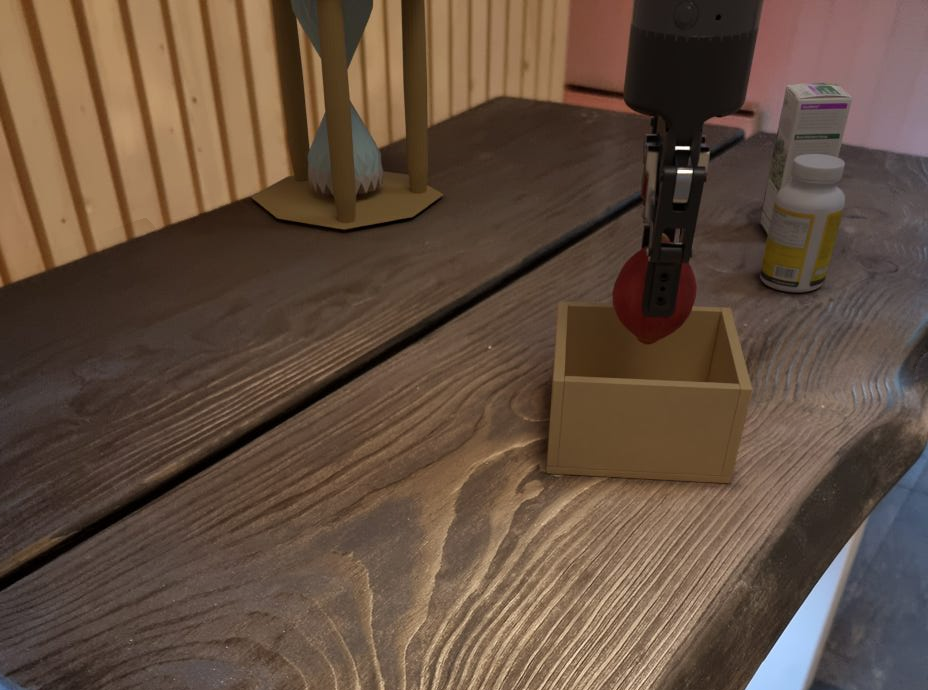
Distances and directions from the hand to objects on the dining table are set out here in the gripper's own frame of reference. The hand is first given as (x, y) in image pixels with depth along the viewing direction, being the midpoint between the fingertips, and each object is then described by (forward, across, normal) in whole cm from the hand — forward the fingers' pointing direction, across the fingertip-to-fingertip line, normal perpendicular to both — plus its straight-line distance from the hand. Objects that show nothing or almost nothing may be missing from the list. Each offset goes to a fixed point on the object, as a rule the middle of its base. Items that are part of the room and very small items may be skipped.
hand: (654, 295), depth 66 cm
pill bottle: (+11, +32, -17) cm, 38 cm away
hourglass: (+11, +54, +34) cm, 65 cm away
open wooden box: (+11, 0, 0) cm, 11 cm away
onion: (+4, 0, 0) cm, 4 cm away
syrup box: (+11, +47, -19) cm, 52 cm away
